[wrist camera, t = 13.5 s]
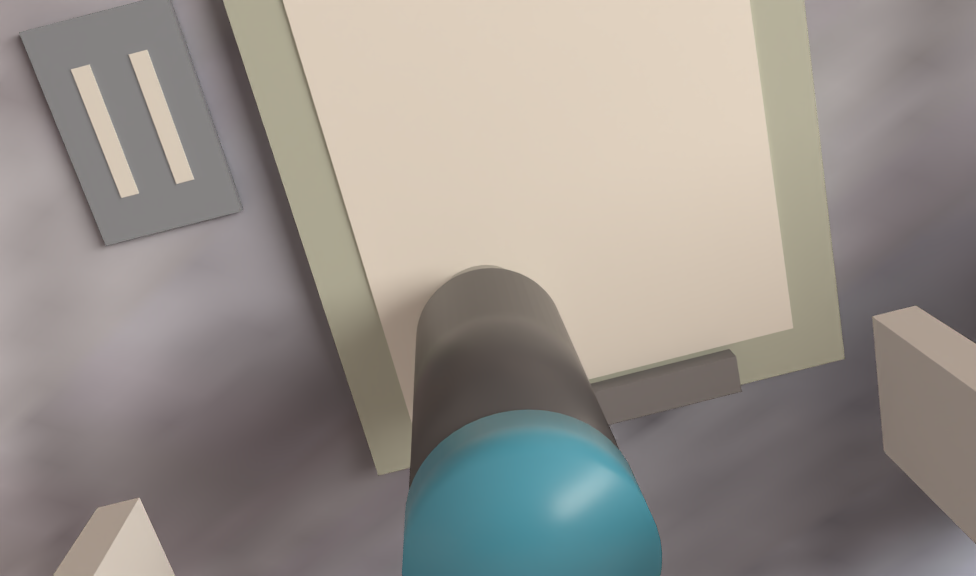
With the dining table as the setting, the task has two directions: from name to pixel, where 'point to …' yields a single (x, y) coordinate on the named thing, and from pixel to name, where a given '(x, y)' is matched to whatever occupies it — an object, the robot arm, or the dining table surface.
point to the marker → (514, 445)
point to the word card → (133, 119)
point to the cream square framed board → (555, 183)
